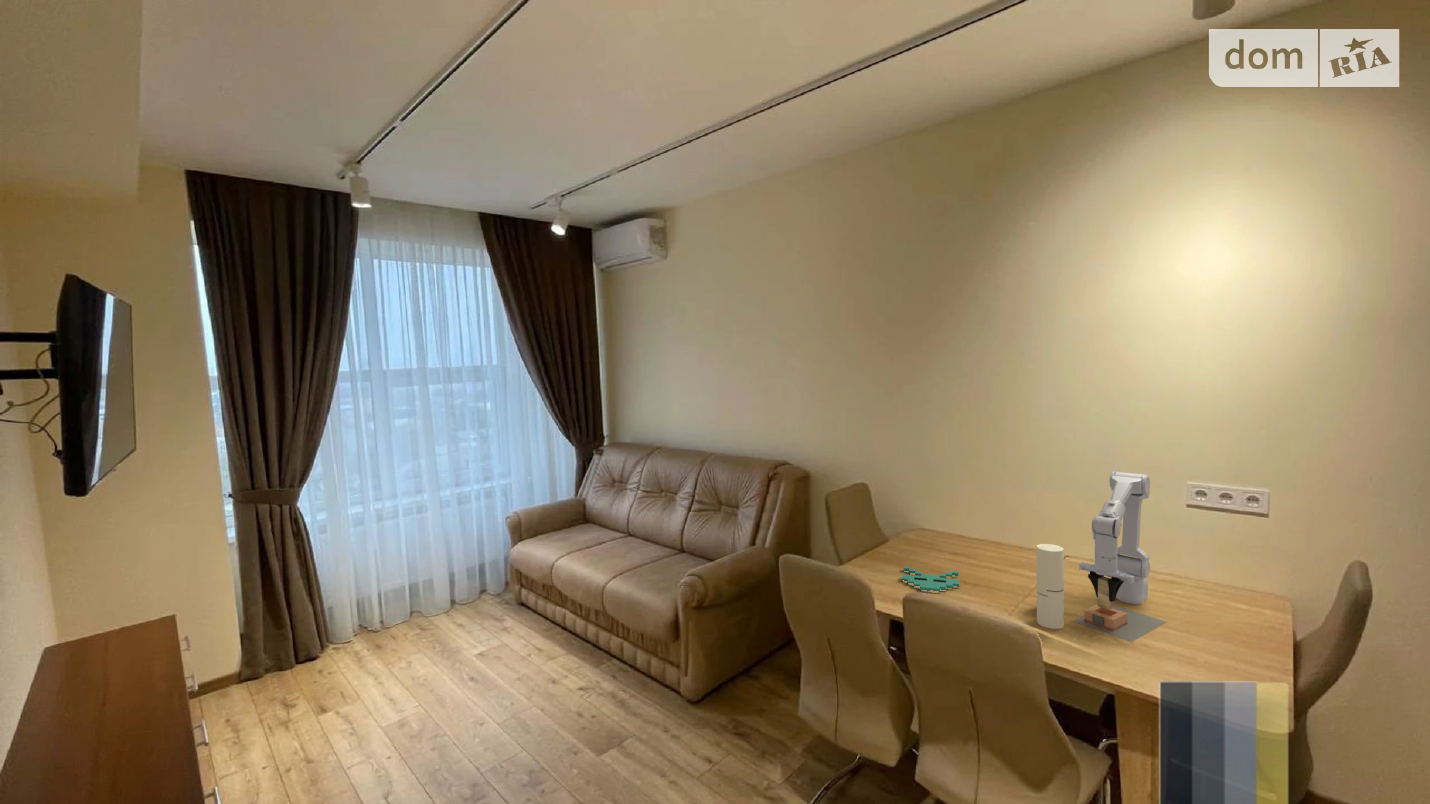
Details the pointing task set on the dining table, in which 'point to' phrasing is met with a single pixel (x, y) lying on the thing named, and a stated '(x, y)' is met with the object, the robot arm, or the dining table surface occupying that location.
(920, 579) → the alien figure
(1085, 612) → the terracotta square frame
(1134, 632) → the slate board
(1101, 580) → the tan rectangular block
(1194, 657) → the dining table surface
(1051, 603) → the cylindrical container
